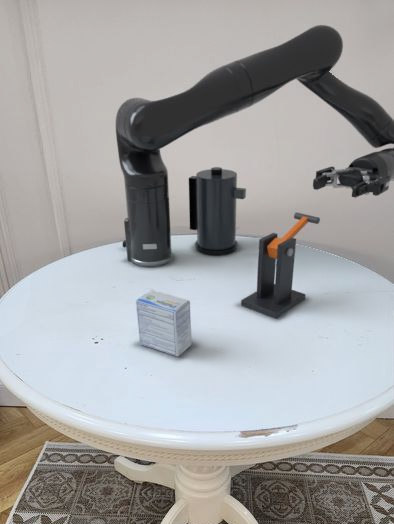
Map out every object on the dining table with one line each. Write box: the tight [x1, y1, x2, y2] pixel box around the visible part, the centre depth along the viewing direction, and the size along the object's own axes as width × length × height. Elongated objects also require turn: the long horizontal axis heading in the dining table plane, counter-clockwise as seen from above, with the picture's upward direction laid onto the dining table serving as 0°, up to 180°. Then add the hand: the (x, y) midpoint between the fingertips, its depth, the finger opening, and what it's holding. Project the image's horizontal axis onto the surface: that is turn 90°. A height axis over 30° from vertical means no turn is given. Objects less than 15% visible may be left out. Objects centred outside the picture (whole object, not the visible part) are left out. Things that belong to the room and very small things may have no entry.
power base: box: [240, 232, 306, 319], centre depth 99 cm, size 10×8×13 cm
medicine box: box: [135, 289, 193, 357], centre depth 87 cm, size 8×4×9 cm, turn 58°
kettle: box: [188, 166, 247, 257], centre depth 122 cm, size 13×10×18 cm
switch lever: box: [267, 212, 321, 260], centre depth 98 cm, size 12×5×2 cm, turn 139°
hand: (334, 188), depth 104 cm, fingers open, 8 cm apart
